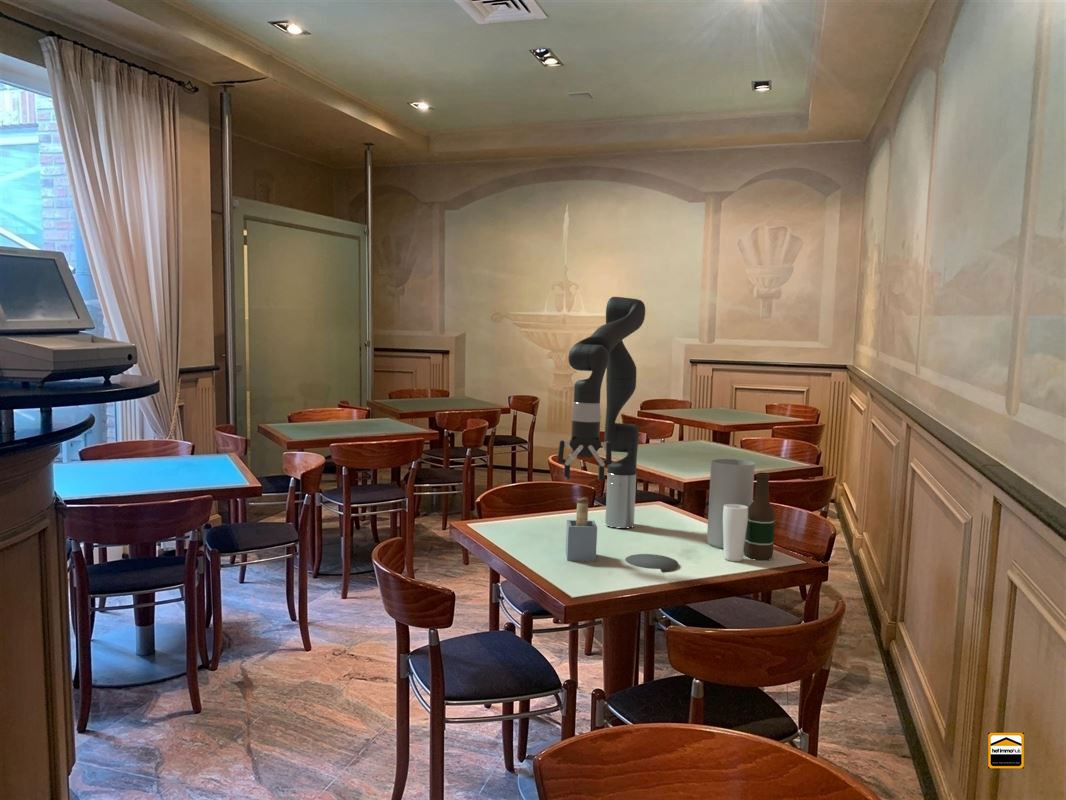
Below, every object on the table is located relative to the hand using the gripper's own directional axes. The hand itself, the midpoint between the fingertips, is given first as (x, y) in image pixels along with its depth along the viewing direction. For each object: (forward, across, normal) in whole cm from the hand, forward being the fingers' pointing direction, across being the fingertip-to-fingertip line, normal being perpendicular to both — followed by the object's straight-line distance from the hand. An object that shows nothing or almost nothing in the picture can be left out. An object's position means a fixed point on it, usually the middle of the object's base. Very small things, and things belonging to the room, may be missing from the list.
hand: (583, 479), depth 209 cm
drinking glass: (+22, -43, -5) cm, 49 cm away
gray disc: (+22, -19, +2) cm, 29 cm away
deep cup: (+22, 0, 0) cm, 22 cm away
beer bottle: (+22, -51, -8) cm, 56 cm away
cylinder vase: (+22, -46, -21) cm, 55 cm away
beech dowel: (+21, 0, 0) cm, 21 cm away
